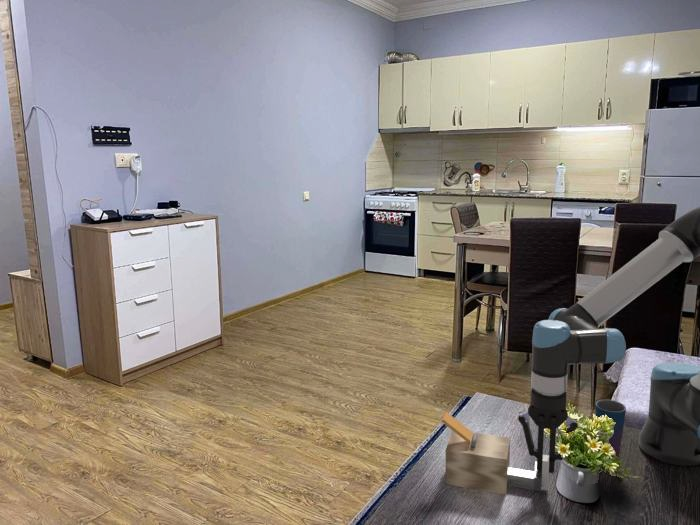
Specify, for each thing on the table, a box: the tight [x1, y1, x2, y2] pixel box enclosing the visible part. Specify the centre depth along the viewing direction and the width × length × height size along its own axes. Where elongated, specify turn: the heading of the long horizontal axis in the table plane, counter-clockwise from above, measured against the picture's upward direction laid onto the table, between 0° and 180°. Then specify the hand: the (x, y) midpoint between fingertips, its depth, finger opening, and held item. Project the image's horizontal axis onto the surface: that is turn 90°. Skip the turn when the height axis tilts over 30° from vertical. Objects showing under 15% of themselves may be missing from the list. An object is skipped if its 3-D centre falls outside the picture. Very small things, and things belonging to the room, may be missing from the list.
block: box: [445, 430, 511, 496], centre depth 128 cm, size 14×10×9 cm
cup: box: [595, 399, 627, 459], centre depth 132 cm, size 7×7×15 cm
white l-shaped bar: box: [507, 460, 543, 492], centre depth 127 cm, size 18×7×4 cm, turn 70°
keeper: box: [441, 411, 478, 447], centre depth 128 cm, size 10×5×1 cm
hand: (544, 483), depth 123 cm, fingers closed
